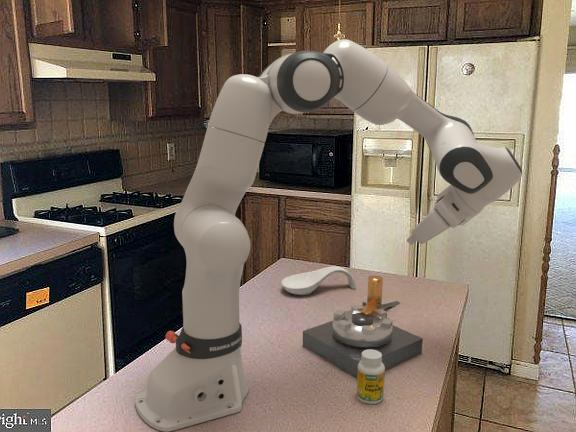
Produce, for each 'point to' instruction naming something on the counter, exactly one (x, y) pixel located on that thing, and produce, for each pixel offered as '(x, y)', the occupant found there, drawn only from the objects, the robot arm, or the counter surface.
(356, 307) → the rotary crank dial
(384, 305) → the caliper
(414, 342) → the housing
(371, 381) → the supplement bottle
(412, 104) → the robot arm
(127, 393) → the counter surface
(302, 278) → the spoon rest
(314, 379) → the counter surface
